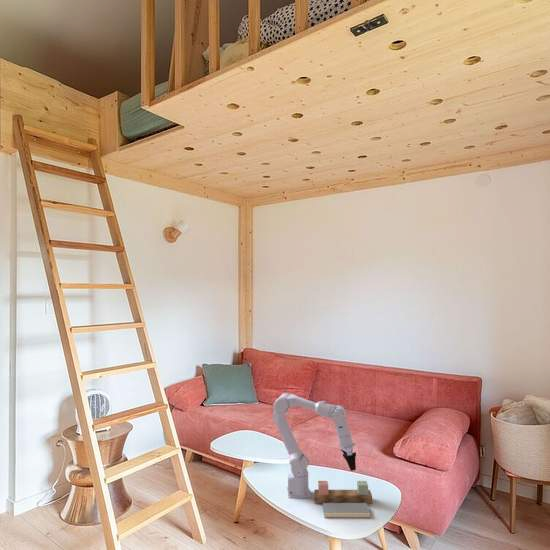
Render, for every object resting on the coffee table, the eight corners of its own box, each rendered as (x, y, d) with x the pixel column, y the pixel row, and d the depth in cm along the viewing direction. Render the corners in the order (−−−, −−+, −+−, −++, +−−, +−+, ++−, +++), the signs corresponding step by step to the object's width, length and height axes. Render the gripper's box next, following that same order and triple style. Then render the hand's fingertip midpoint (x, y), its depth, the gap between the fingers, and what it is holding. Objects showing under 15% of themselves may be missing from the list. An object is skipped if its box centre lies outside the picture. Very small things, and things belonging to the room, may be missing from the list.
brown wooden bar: (315, 505, 170) (315, 495, 170) (314, 498, 175) (314, 489, 175) (372, 505, 169) (372, 495, 169) (370, 499, 174) (369, 489, 174)
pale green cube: (358, 494, 170) (358, 485, 170) (357, 490, 174) (357, 480, 174) (368, 494, 170) (368, 485, 170) (366, 490, 174) (366, 480, 174)
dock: (324, 517, 160) (324, 512, 160) (322, 507, 167) (322, 502, 167) (369, 517, 159) (369, 512, 159) (366, 507, 166) (366, 503, 166)
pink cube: (319, 494, 171) (318, 485, 171) (318, 490, 175) (318, 480, 175) (328, 494, 170) (328, 485, 171) (327, 490, 174) (327, 480, 175)
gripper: (355, 437, 167) (363, 471, 166) (350, 428, 182) (358, 458, 180) (339, 441, 168) (347, 474, 166) (335, 431, 182) (343, 462, 181)
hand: (351, 466), depth 173 cm, fingers open, 7 cm apart
